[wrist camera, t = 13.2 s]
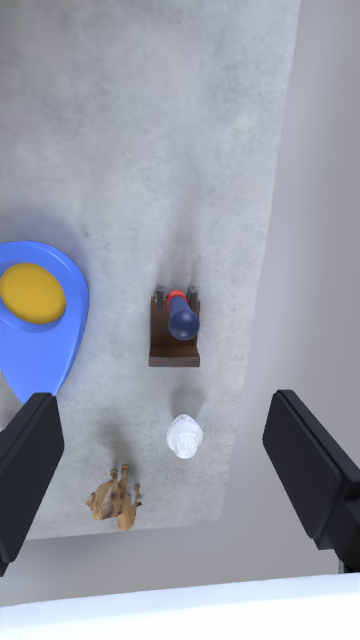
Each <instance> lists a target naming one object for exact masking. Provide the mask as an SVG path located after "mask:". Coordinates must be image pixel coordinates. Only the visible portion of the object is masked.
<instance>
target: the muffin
mask: <svg viewBox="0 0 360 640" xmlns="http://www.w3.org/2000/svg"><path fill="white" fill-rule="evenodd" d="M202 440H203V432H202V429H201V428H200V427H199V426H198V424H197V423H196V421H194V420H193V419H192V418H191V417H190V416H189V415H186V414H181V415H179V416H177V417H176V418H175V419H174V421H173V422H172V424H171V425H170V427H169V430H168V432H167V443H168V445H169V447H170V448H171V449H173V450H174V451H175V452H176V455H177V456H178V457H180V458H184V459H186V458H187V459H189V457H190V458H192V456H194V455H195V453H196V452H197V450H196V449H197V448H198V446H199V445H200V444H201V442H202Z"/></svg>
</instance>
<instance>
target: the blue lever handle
mask: <svg viewBox="0 0 360 640" xmlns="http://www.w3.org/2000/svg"><path fill="white" fill-rule="evenodd" d="M167 307H168V310H169V311H170V319H169V324H168V326H169V330H170V332H171V334H172V335H173V336H174V337H175V338H177V339H179V340H189V339H191V338H193V337H194V336H195V335H196V334H197V332H198V330H199V326H200V323H199V319H198V317H197V315H196V314H195V313H194V312H193V311H191V310H190V308H189V306H188V300H187V298H186V297H185V295H184V293H183V292H182V291H180V290H173V291H171V292H169V294H168V295H167Z"/></svg>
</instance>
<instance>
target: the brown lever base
mask: <svg viewBox="0 0 360 640" xmlns="http://www.w3.org/2000/svg"><path fill="white" fill-rule="evenodd" d="M187 300H188V306H189V308H190V310H191V311H193V312H194V313H195V314H196V315H197V317H198V319H199V310H200V300H199V299H197V291H196V290H195V288H194V287H188V299H187ZM169 319H170V311H169V310H168V307H167V298H163V286H160V285H158V287H157V294H155V298H151V332H150V353H149V367H199V366H200V356H199V353H198V349H197V346H196V345H197V334H196V335H195V336H194V337H193V338H191V339H189V340H179V339H177V338H175V337H174V336H173V335H172V334H171V332H170V330H169V326H168V324H169ZM197 333H198V332H197Z"/></svg>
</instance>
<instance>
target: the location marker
mask: <svg viewBox="0 0 360 640" xmlns="http://www.w3.org/2000/svg"><path fill="white" fill-rule="evenodd" d="M88 307H89V292H88V287H87V284H86V281H85V279H84V276H83V275H82V273H81V271H80V270H79V268H78V267H77V266H76V264H75V263H74V262H73V261H72V260H71V259H70V258H69V257H67V256H66V255H65V254H64V253H62V252H61V251H59V250H57V249H56V248H54V247H51V246H49V245H46V244H43V243H40V242H34V241H17V242H7V243H2V244H0V369H1V371H2V373H3V375H4V377H5V379H6V380H7V382H8V384H9V386H10V387H11V389H12V390H13V392H14V393H15V395H16V396H17V397H18V399H19V400H20V401H21V402H22V403H23V404H25V403H26V402H27V401H28V399H29V398H30V397H31V395H32V394H33V393H35V392H50V393H51V394H52V396H55V395H56V393H57V392H58V390H59V389H60V387H61V386H62V384H63V383H64V381H65V379H66V377H67V375H68V373H69V371H70V369H71V367H72V364H73V362H74V359H75V357H76V354H77V351H78V349H79V346H80V343H81V339H82V336H83V333H84V329H85V324H86V320H87V314H88Z"/></svg>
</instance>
